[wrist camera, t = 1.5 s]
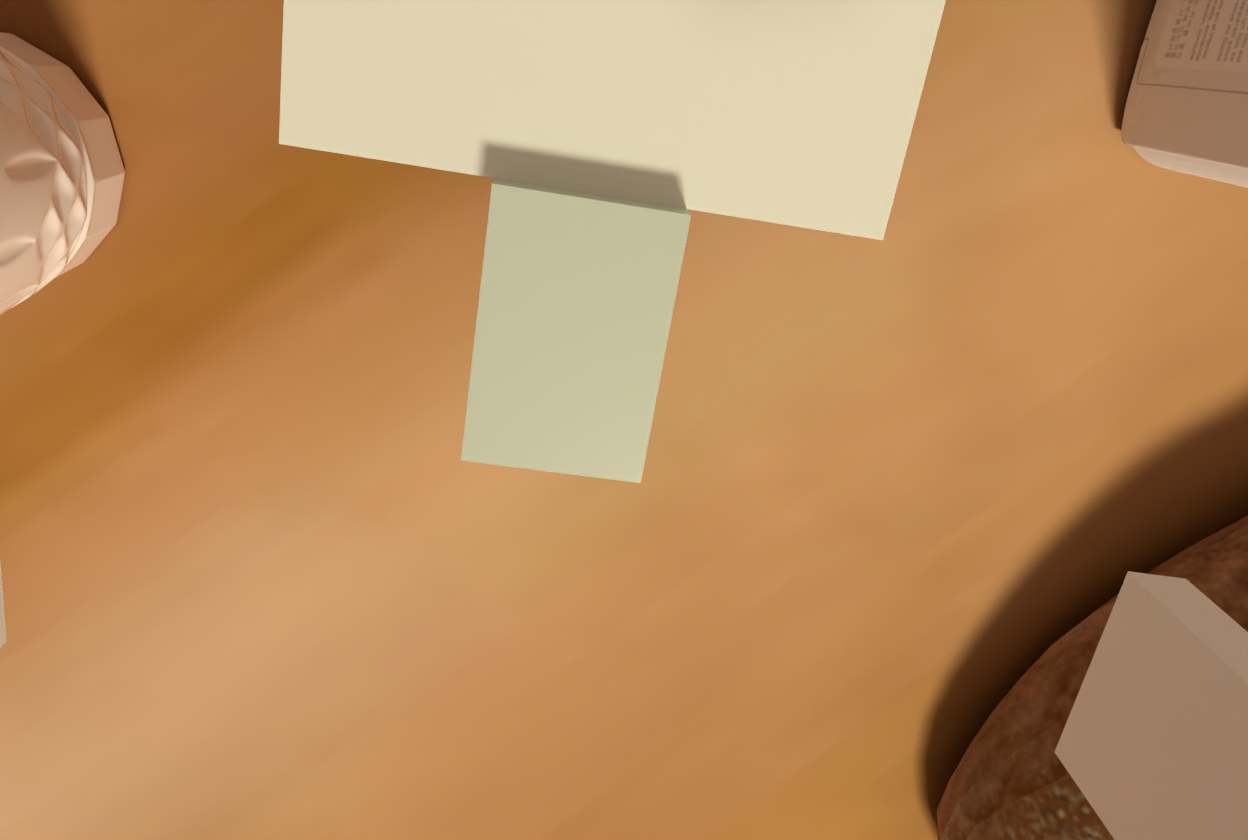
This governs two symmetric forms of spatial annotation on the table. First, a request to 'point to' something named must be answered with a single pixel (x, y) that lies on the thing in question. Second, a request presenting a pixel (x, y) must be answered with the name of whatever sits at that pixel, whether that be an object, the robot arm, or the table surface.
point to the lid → (609, 167)
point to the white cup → (50, 171)
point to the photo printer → (1192, 90)
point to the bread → (1065, 718)
